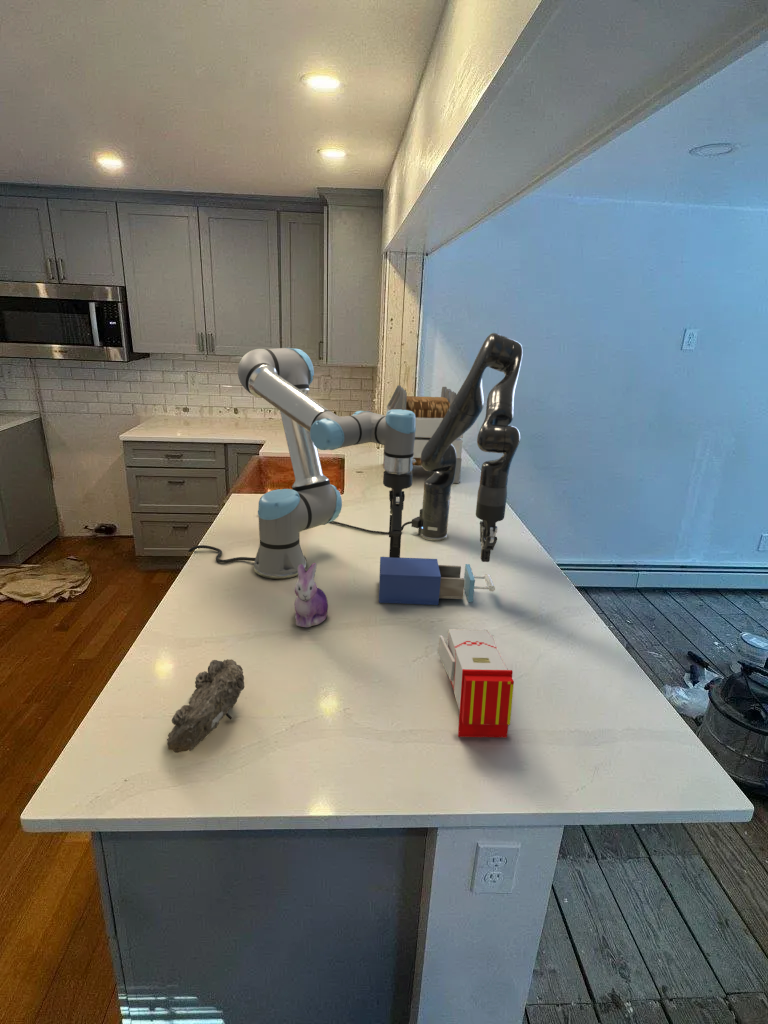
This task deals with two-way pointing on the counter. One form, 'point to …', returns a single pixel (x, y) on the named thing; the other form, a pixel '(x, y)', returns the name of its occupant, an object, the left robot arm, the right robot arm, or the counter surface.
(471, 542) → the counter surface
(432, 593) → the cabinet
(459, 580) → the drawer
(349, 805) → the counter surface
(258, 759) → the counter surface
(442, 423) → the right robot arm
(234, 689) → the fossil
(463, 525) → the counter surface
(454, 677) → the toy
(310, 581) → the figurine
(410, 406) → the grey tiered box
